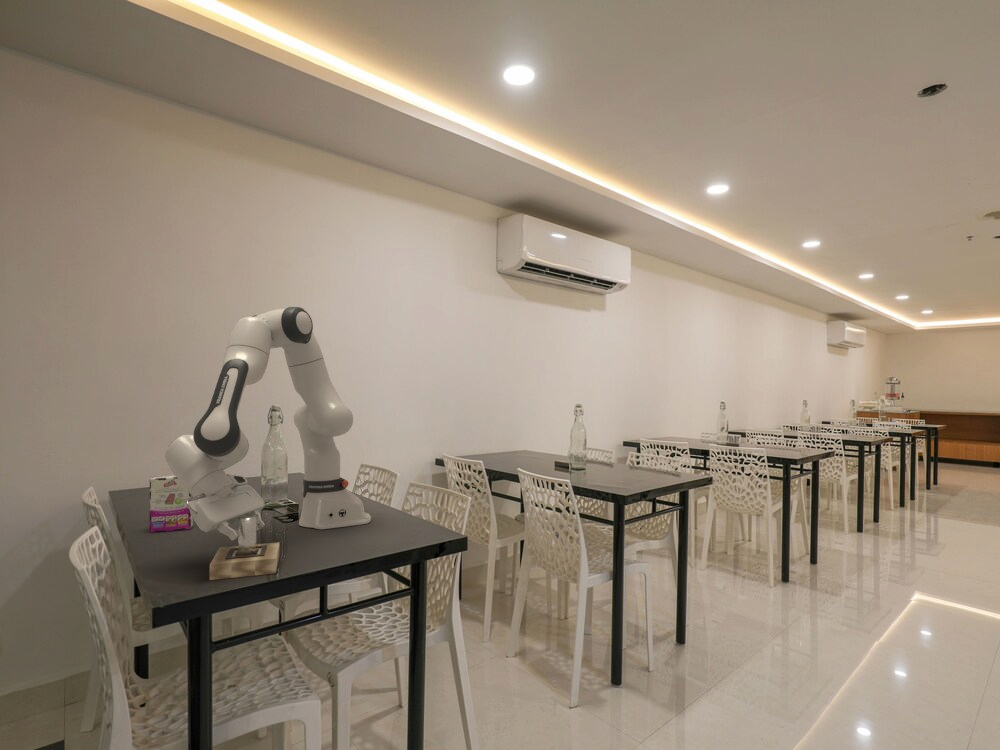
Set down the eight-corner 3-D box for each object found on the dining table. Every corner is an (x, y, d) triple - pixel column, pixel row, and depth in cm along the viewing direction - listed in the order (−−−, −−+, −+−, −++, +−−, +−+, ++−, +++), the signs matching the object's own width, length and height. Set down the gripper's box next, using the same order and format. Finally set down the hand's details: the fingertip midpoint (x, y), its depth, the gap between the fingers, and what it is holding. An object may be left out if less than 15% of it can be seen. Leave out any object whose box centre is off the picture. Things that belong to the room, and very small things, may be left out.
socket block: (279, 555, 142) (279, 541, 143) (275, 573, 129) (276, 557, 129) (219, 561, 138) (219, 546, 138) (209, 580, 125) (209, 563, 125)
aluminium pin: (256, 563, 136) (257, 515, 136) (255, 568, 132) (255, 518, 133) (239, 565, 135) (239, 516, 135) (237, 570, 131) (237, 520, 131)
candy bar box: (193, 525, 173) (194, 473, 173) (190, 529, 168) (191, 476, 169) (152, 529, 169) (152, 475, 169) (148, 533, 164) (149, 478, 165)
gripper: (191, 490, 125) (228, 535, 123) (248, 475, 145) (282, 514, 143) (174, 508, 126) (211, 554, 124) (233, 492, 146) (266, 530, 144)
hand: (249, 532), depth 134 cm, fingers open, 8 cm apart
